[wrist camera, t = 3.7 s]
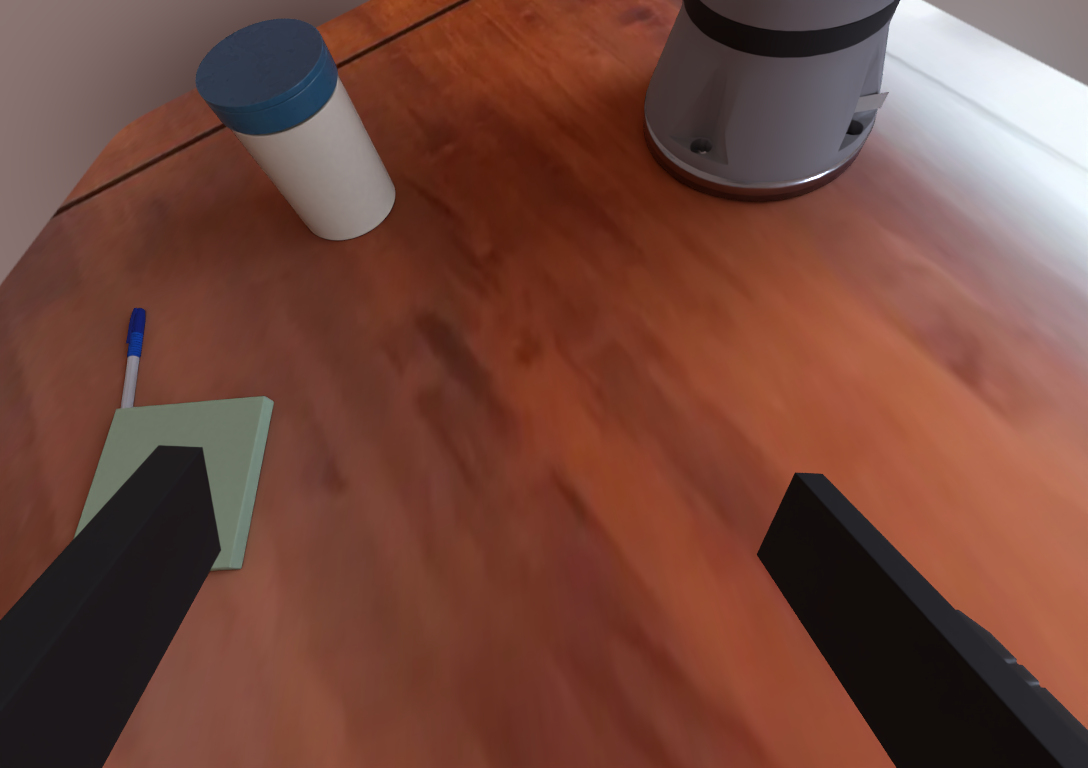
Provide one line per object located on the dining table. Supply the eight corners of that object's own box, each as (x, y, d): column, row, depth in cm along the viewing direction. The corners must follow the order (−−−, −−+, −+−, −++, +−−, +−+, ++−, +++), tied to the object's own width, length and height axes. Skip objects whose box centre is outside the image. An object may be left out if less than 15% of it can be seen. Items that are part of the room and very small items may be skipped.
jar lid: (232, 57, 32) (212, 27, 31) (345, 40, 32) (331, 8, 30) (204, 143, 29) (180, 115, 27) (329, 125, 28) (312, 96, 27)
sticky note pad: (129, 413, 33) (115, 408, 32) (274, 401, 32) (264, 395, 31) (77, 578, 29) (60, 576, 28) (242, 569, 28) (229, 567, 27)
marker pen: (137, 314, 37) (125, 306, 36) (149, 310, 37) (137, 303, 36) (122, 448, 32) (108, 443, 32) (136, 444, 32) (122, 439, 32)
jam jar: (311, 173, 40) (219, 38, 31) (399, 161, 40) (333, 20, 30) (296, 245, 37) (190, 121, 28) (391, 235, 37) (315, 103, 27)
